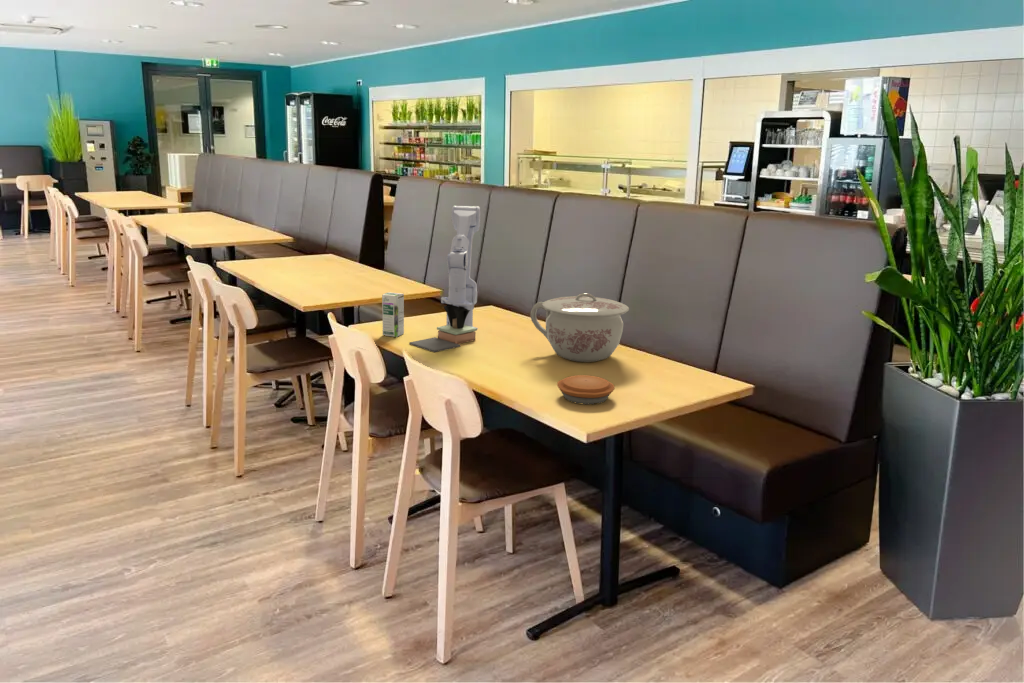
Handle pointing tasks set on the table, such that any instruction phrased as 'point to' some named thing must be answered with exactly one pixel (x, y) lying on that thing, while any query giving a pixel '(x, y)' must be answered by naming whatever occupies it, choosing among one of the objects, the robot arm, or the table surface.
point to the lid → (454, 329)
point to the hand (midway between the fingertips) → (456, 327)
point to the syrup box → (393, 314)
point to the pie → (585, 389)
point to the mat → (434, 344)
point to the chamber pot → (582, 326)
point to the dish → (457, 337)
